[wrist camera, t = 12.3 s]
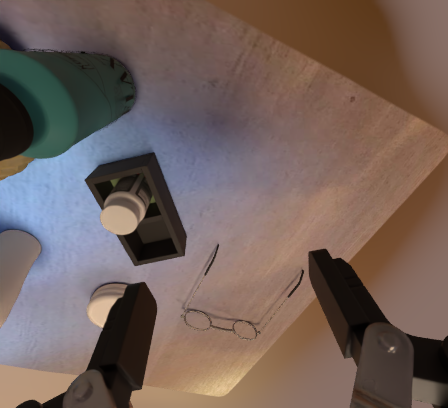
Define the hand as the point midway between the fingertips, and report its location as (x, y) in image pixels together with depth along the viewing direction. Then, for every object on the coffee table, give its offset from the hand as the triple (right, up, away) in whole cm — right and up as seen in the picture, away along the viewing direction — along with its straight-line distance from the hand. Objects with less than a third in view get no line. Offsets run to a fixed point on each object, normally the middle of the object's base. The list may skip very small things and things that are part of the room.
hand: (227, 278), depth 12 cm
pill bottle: (-12, +6, +22) cm, 26 cm away
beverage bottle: (-13, +17, +16) cm, 27 cm away
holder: (-12, +4, +24) cm, 27 cm away
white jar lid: (-20, -15, +35) cm, 43 cm away
